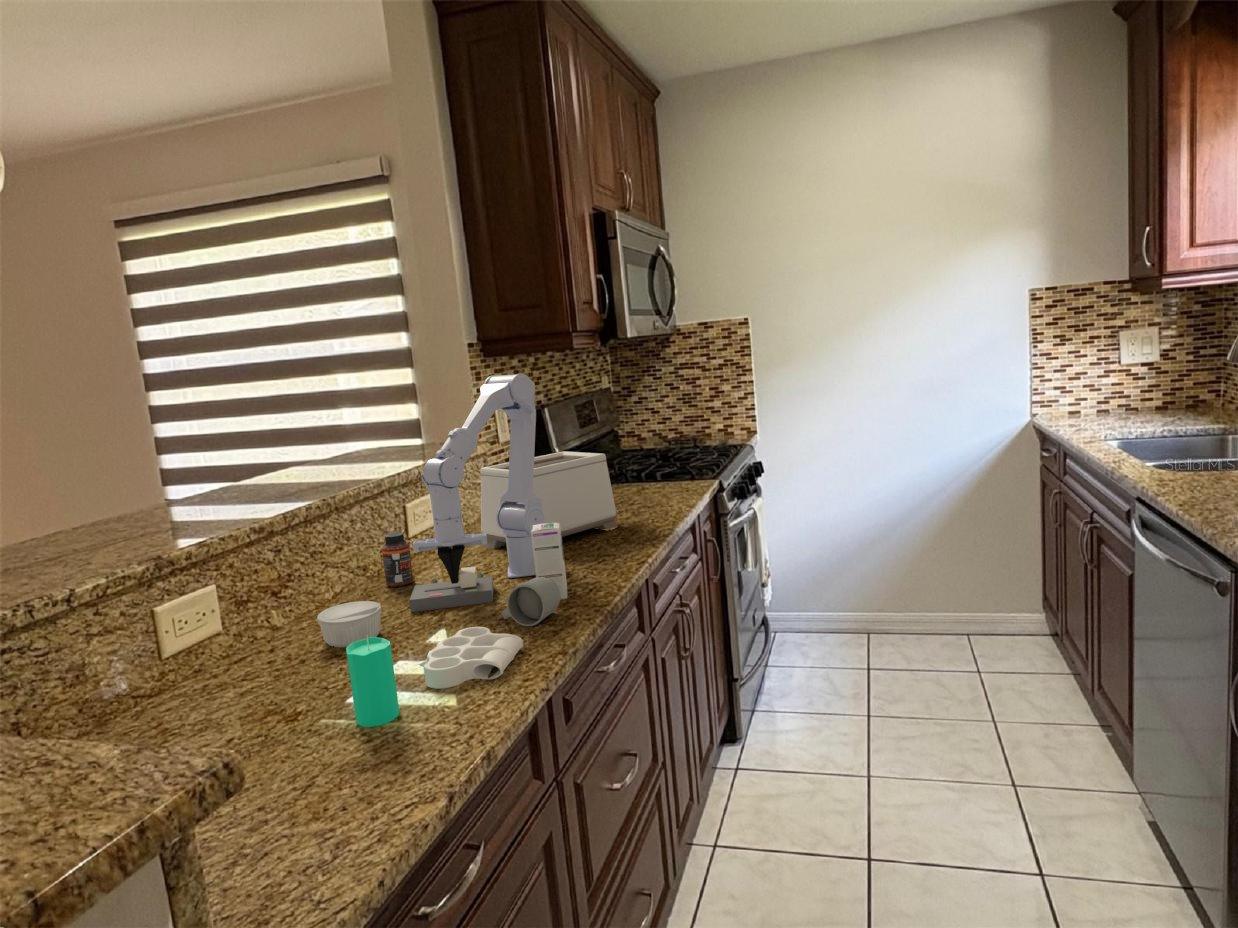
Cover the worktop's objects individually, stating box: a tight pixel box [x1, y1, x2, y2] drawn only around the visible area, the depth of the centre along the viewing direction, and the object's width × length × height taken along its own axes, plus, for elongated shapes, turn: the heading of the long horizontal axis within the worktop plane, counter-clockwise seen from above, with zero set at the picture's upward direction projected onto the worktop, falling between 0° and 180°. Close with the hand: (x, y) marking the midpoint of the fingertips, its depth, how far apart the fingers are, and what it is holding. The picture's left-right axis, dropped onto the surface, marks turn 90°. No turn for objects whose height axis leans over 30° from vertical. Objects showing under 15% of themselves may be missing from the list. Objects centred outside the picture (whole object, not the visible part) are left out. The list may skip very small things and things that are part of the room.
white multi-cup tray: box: [418, 626, 524, 690], centre depth 127 cm, size 3×18×15 cm
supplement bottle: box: [381, 532, 414, 588], centre depth 176 cm, size 6×6×11 cm
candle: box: [345, 635, 401, 728], centre depth 110 cm, size 6×6×12 cm
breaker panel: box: [409, 573, 495, 613], centre depth 166 cm, size 16×19×3 cm
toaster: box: [480, 451, 618, 550], centre depth 208 cm, size 19×34×21 cm, turn 134°
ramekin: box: [316, 600, 383, 648], centre depth 144 cm, size 11×11×5 cm
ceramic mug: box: [501, 577, 561, 627], centre depth 146 cm, size 11×8×8 cm
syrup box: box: [531, 522, 569, 601], centre depth 157 cm, size 6×6×14 cm
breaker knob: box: [459, 566, 478, 588], centre depth 162 cm, size 3×5×3 cm, turn 8°
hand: (455, 582), depth 161 cm, fingers closed
